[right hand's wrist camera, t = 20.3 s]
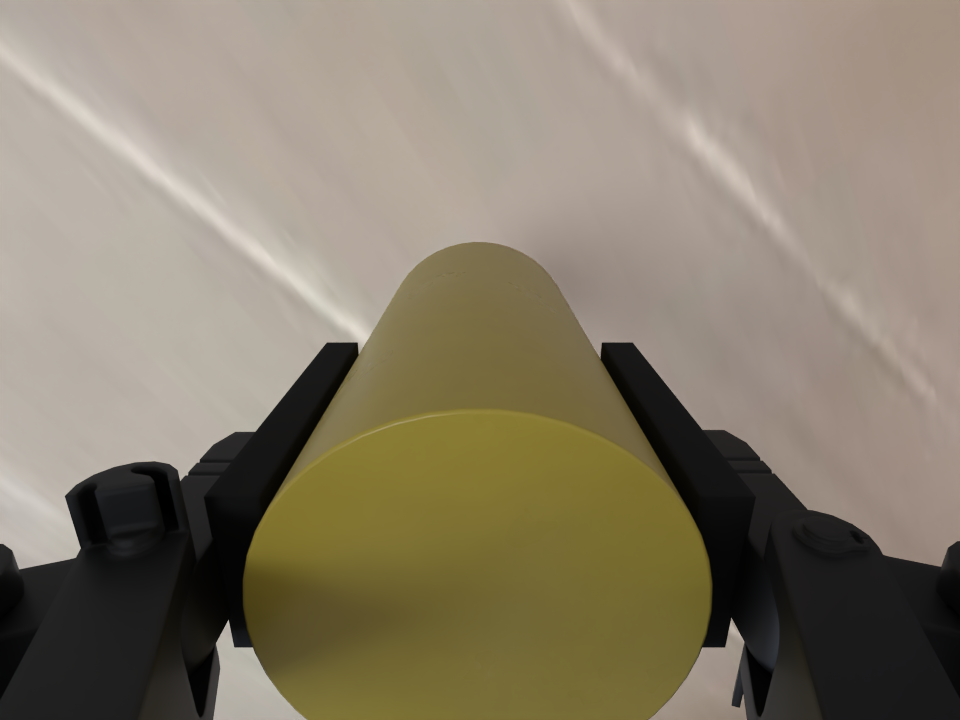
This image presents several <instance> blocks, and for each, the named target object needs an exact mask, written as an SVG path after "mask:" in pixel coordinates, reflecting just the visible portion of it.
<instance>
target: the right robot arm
mask: <svg viewBox="0 0 960 720" xmlns="http://www.w3.org/2000/svg"><path fill="white" fill-rule="evenodd" d="M358 356H359V354H358V343H326V344H325V346H324V347H323V348H322V349H321V351H320V352H319V353H318V354H317V356H316V357H315V358H314V359H313V361H312V362H311V363H310V364H309V366H308V367H307V368H306V369H305V371H304V372H303V373H302V374H301V376H300V377H299V378H298V379H297V381H296V382H295V383H294V384H293V386H292V387H291V388H290V389H289V391H288V392H287V393H286V394H285V396H284V397H283V398H282V399H281V401H280V402H279V403H278V404H277V406H276V407H275V408H274V409H273V411H272V412H271V413H270V414H269V416H268V417H267V418H266V419H265V421H264V422H263V423H262V424H261V426H260V427H259V428H258V429H257V431H256V432H235V433H233V434H231V435H229V436H228V437H226V438H224V439H223V440H221V441H219V442H217V443H216V444H214V445H213V446H212V447H211V448H210V449H209V450H208V451H207V452H206V454H205V455H204V456H203V457H202V458H201V459H200V463H196V465H195V466H194V467H193V468H192V469H191V470H190V471H189V472H188V476H185V477H184V478H183V479H182V480H181V481H180V479H179V474H178V470H177V469H175V468H174V467H173V466H171V465H170V464H166V463H160V462H155V461H154V462H136V463H131V464H126V465H122V466H117V467H113V468H111V469H108V470H105V471H103V472H100V473H97V474H95V475H93V476H91V477H89V478H87V479H86V480H84V481H82V482H81V483H79V484H77V485H76V486H75V487H74V488H73V489H72V490H71V491H70V492H69V493H68V494H67V495H66V496H65V498H66V501H67V505H68V508H69V511H70V514H71V518H72V521H73V524H74V527H75V531H76V534H77V537H78V540H79V544H80V547H81V549H80V551H79V553H78V555H77V557H76V558H74V559H70V560H65V561H60V562H55V563H50V564H45V565H40V566H35V567H30V568H25V569H20V570H19V568H18V565H17V563H16V560H15V557H14V554H13V552H12V550H11V549H9V548H8V547H6V546H5V545H4V544H0V720H213V716H214V709H215V702H216V695H217V688H218V680H219V673H220V663H219V656H218V651H217V647H216V642H217V640H218V638H219V636H220V634H221V633H222V631H223V629H224V627H225V625H226V623H227V621H228V620H229V623H230V628H231V633H232V638H233V643H234V647H253V646H252V643H251V640H250V637H249V634H248V631H247V627H246V621H245V615H244V609H243V575H244V569H245V563H246V557H247V553H248V550H249V548H250V545H251V542H252V539H253V536H254V533H255V530H256V529H257V527H258V525H259V523H260V521H261V519H262V518H263V516H264V514H265V512H266V510H267V508H268V507H269V505H270V503H271V502H272V500H273V498H274V497H275V495H276V493H277V492H278V490H279V488H280V487H281V485H282V483H283V481H284V480H285V478H286V476H287V475H288V473H289V471H290V470H291V468H292V466H293V465H294V463H295V461H296V460H297V458H298V456H299V455H300V453H301V451H302V450H303V448H304V446H305V445H306V443H307V441H308V440H309V438H310V436H311V434H312V433H313V431H314V429H315V428H316V426H317V424H318V423H319V421H320V419H321V418H322V416H323V414H324V413H325V411H326V409H327V408H328V406H329V404H330V403H331V401H332V399H333V398H334V396H335V394H336V393H337V391H338V389H339V387H340V386H341V384H342V382H343V381H344V379H345V377H346V376H347V374H348V372H349V371H350V369H351V367H352V366H353V364H354V362H355V361H356V359H357V357H358ZM601 361H602V363H603V365H604V366H605V368H606V370H607V372H608V373H609V375H610V377H611V378H612V380H613V382H614V383H615V385H616V387H617V389H618V390H619V392H620V394H621V395H622V397H623V399H624V401H625V402H626V404H627V406H628V407H629V409H630V411H631V412H632V414H633V416H634V418H635V419H636V421H637V423H638V424H639V426H640V428H641V430H642V431H643V433H644V435H645V436H646V438H647V440H648V442H649V443H650V445H651V447H652V448H653V450H654V452H655V453H656V455H657V457H658V459H659V460H660V462H661V464H662V465H663V467H664V469H665V471H666V472H667V474H668V476H669V477H670V479H671V481H672V483H673V484H674V486H675V488H676V489H677V491H678V493H679V494H680V496H681V498H682V500H683V501H684V503H685V505H686V506H687V508H688V510H689V512H690V514H691V516H692V517H693V519H694V521H695V523H696V525H697V527H698V529H699V531H700V533H701V535H702V538H703V542H704V545H705V548H706V551H707V554H708V557H709V562H710V569H711V577H712V611H711V616H710V621H709V626H708V631H707V635H706V638H705V640H704V643H703V646H702V647H725V645H726V641H727V636H728V631H729V626H730V621H731V618H732V619H733V621H734V623H735V625H736V627H737V629H738V630H739V632H740V634H741V636H742V638H743V640H744V647H743V651H742V656H741V660H740V665H739V670H738V674H737V679H736V683H735V688H734V692H733V699H732V706H735V707H739V708H740V704H741V700H742V695H743V694H744V700H745V708H746V715H747V720H960V541H957V542H956V543H954V544H953V545H952V546H950V547H949V548H948V550H947V553H946V555H945V558H944V561H943V564H942V567H938V566H933V565H928V564H923V563H918V562H913V561H908V560H903V559H898V558H893V557H889V556H885V555H883V554H882V552H881V550H880V548H879V547H878V546H877V545H876V543H875V542H874V541H873V540H872V539H871V537H870V536H869V535H867V534H866V533H865V532H863V531H862V530H860V529H859V528H857V527H856V526H854V525H853V524H851V523H848V522H846V521H844V520H842V519H839V518H837V517H835V516H832V515H829V514H825V513H821V512H817V511H813V510H807V508H806V507H805V506H804V505H803V504H802V503H801V502H800V501H799V500H798V499H797V498H796V496H795V495H794V494H793V493H792V492H791V491H790V490H789V489H788V488H787V487H786V486H785V484H784V483H783V482H782V481H781V480H780V479H779V478H778V477H777V476H776V475H775V474H772V472H771V471H772V470H771V469H770V468H769V467H768V466H767V465H766V464H765V463H764V462H763V461H760V457H759V456H758V455H757V454H756V453H755V452H754V451H753V450H752V448H751V447H750V446H749V445H748V444H747V443H746V442H744V441H742V440H741V439H739V438H737V437H735V436H734V435H732V434H730V433H728V432H727V431H725V430H702V429H701V428H700V426H699V425H698V424H697V423H696V421H695V420H694V419H693V418H692V416H691V415H690V414H689V413H688V411H687V410H686V409H685V408H684V406H683V405H682V404H681V403H680V401H679V400H678V399H677V398H676V396H675V395H674V394H673V393H672V391H671V390H670V389H669V388H668V386H667V385H666V384H665V383H664V381H663V380H662V379H661V378H660V376H659V375H658V374H657V373H656V371H655V370H654V369H653V368H652V366H651V365H650V364H649V363H648V361H647V360H646V359H645V358H644V356H643V355H642V354H641V353H640V351H639V350H638V349H637V348H636V346H635V345H634V344H633V343H602V348H601Z"/></svg>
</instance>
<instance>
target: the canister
mask: <svg viewBox="0 0 960 720" xmlns="http://www.w3.org/2000/svg"><path fill="white" fill-rule="evenodd" d="M243 609H244V615H245V621H246V627H247V631H248V634H249V637H250V640H251V643H252V646H253V649H254V651H255V654H256V656H257V658H258V659H259V661H260V663H261V665H262V667H263V669H264V671H265V673H266V674H267V676H268V677H269V679H270V680H271V681H272V683H273V684H274V685H275V687H276V688H277V690H278V691H279V692H280V694H281V695H282V696H283V697H284V698H285V699H286V700H287V701H288V702H289V703H290V704H291V705H292V706H293V707H294V709H295V710H296V711H297V712H299V713H300V714H301V715H302V716H303V717H305V718H306V719H307V720H648V719H650V718H651V717H652V716H653V715H655V714H656V713H657V712H658V711H659V710H660V709H661V707H662V706H663V705H664V704H665V703H666V702H667V701H668V700H669V699H670V698H671V697H672V696H673V695H674V694H675V692H676V691H677V690H678V688H679V687H680V686H681V684H682V683H683V682H684V680H685V679H686V678H687V676H688V674H689V672H690V671H691V669H692V667H693V665H694V664H695V662H696V660H697V658H698V656H699V654H700V651H701V648H702V646H703V643H704V640H705V638H706V635H707V631H708V626H709V621H710V616H711V611H712V577H711V569H710V562H709V557H708V554H707V551H706V548H705V545H704V542H703V538H702V535H701V533H700V531H699V529H698V527H697V525H696V523H695V521H694V519H693V517H692V516H691V514H690V512H689V510H688V508H687V506H686V505H685V503H684V501H683V500H682V498H681V496H680V494H679V493H678V491H677V489H676V488H675V486H674V484H673V483H672V481H671V479H670V477H669V476H668V474H667V472H666V471H665V469H664V467H663V465H662V464H661V462H660V460H659V459H658V457H657V455H656V453H655V452H654V450H653V448H652V447H651V445H650V443H649V442H648V440H647V438H646V436H645V435H644V433H643V431H642V430H641V428H640V426H639V424H638V423H637V421H636V419H635V418H634V416H633V414H632V412H631V411H630V409H629V407H628V406H627V404H626V402H625V401H624V399H623V397H622V395H621V394H620V392H619V390H618V389H617V387H616V385H615V383H614V382H613V380H612V378H611V377H610V375H609V373H608V372H607V370H606V368H605V366H604V365H603V363H602V361H601V360H600V358H599V356H598V354H597V353H596V351H595V349H594V348H593V346H592V344H591V342H590V341H589V339H588V337H587V336H586V334H585V332H584V331H583V329H582V327H581V325H580V324H579V322H578V320H577V319H576V317H575V315H574V313H573V312H572V310H571V308H570V307H569V305H568V303H567V301H566V300H565V298H564V296H563V295H562V293H561V291H560V290H559V288H558V286H557V284H556V283H555V282H554V280H553V279H552V277H551V276H550V275H549V274H548V273H547V272H546V271H545V269H544V268H543V267H542V266H540V265H539V264H538V263H537V262H536V261H534V260H533V259H532V258H530V257H528V256H527V255H525V254H523V253H522V252H520V251H517V250H515V249H513V248H510V247H507V246H503V245H500V244H494V243H487V242H471V243H463V244H458V245H454V246H450V247H447V248H445V249H442V250H440V251H438V252H436V253H434V254H432V255H431V256H429V257H427V258H426V259H424V260H423V261H422V262H421V263H419V264H418V265H417V266H416V267H415V268H414V269H413V270H412V271H411V272H410V273H409V274H408V275H407V277H406V278H405V279H404V281H403V282H402V283H401V285H400V287H399V288H398V290H397V292H396V294H395V295H394V297H393V299H392V300H391V302H390V304H389V305H388V307H387V309H386V310H385V312H384V314H383V315H382V317H381V319H380V320H379V322H378V324H377V325H376V327H375V329H374V330H373V332H372V334H371V335H370V337H369V339H368V340H367V342H366V344H365V346H364V347H363V349H362V351H361V352H360V354H359V356H358V357H357V359H356V361H355V362H354V364H353V366H352V367H351V369H350V371H349V372H348V374H347V376H346V377H345V379H344V381H343V382H342V384H341V386H340V387H339V389H338V391H337V393H336V394H335V396H334V398H333V399H332V401H331V403H330V404H329V406H328V408H327V409H326V411H325V413H324V414H323V416H322V418H321V419H320V421H319V423H318V424H317V426H316V428H315V429H314V431H313V433H312V434H311V436H310V438H309V440H308V441H307V443H306V445H305V446H304V448H303V450H302V451H301V453H300V455H299V456H298V458H297V460H296V461H295V463H294V465H293V466H292V468H291V470H290V471H289V473H288V475H287V476H286V478H285V480H284V481H283V483H282V485H281V487H280V488H279V490H278V492H277V493H276V495H275V497H274V498H273V500H272V502H271V503H270V505H269V507H268V508H267V510H266V512H265V514H264V516H263V518H262V519H261V521H260V523H259V525H258V527H257V529H256V530H255V533H254V536H253V539H252V542H251V545H250V548H249V550H248V553H247V557H246V563H245V569H244V575H243Z"/></svg>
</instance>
